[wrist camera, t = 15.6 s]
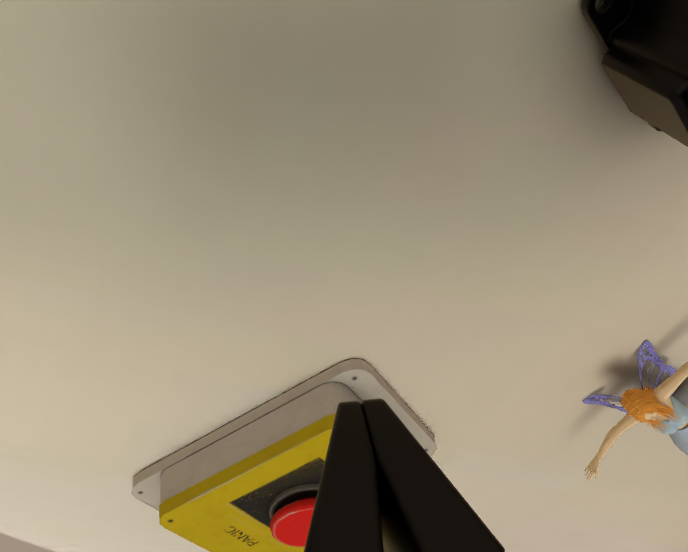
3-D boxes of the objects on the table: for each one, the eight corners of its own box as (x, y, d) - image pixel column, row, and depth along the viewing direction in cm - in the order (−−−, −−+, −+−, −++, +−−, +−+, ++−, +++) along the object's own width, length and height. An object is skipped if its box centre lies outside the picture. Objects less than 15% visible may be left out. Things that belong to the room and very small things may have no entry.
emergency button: (463, 512, 28) (231, 616, 31) (439, 441, 31) (233, 541, 35) (375, 426, 22) (107, 562, 26) (358, 352, 26) (124, 480, 29)
